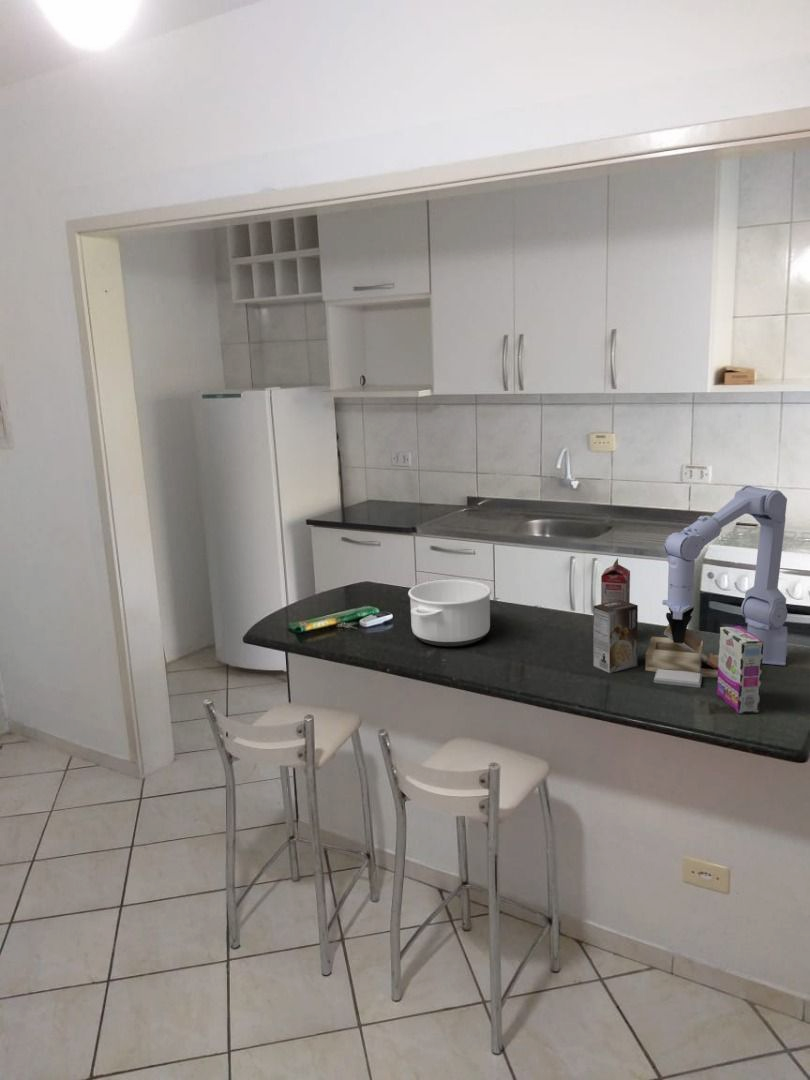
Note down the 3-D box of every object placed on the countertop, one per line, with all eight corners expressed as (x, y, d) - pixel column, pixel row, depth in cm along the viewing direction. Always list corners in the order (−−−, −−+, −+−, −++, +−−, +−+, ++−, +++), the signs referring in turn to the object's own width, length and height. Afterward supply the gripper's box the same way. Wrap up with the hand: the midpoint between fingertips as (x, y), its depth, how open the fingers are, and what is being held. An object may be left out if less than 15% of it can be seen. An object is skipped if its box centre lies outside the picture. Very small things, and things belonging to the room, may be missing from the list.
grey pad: (701, 677, 203) (702, 672, 203) (700, 687, 197) (700, 682, 197) (656, 672, 207) (656, 668, 207) (653, 682, 201) (653, 678, 201)
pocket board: (720, 659, 214) (721, 642, 213) (718, 677, 202) (719, 660, 201) (651, 652, 220) (651, 636, 219) (645, 670, 209) (645, 653, 208)
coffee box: (620, 658, 217) (621, 598, 214) (637, 666, 212) (639, 605, 208) (592, 666, 213) (592, 605, 210) (609, 674, 208) (610, 611, 204)
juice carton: (600, 641, 230) (601, 563, 225) (604, 634, 236) (605, 557, 231) (625, 644, 227) (626, 565, 222) (628, 636, 233) (630, 558, 228)
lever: (715, 663, 211) (719, 658, 211) (714, 671, 206) (718, 667, 205) (665, 628, 214) (668, 624, 214) (662, 636, 209) (666, 631, 208)
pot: (456, 662, 219) (455, 612, 216) (383, 648, 232) (381, 600, 229) (514, 625, 246) (514, 580, 243) (446, 614, 259) (445, 571, 256)
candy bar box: (760, 713, 183) (765, 641, 179) (738, 714, 183) (742, 643, 179) (736, 692, 194) (740, 624, 190) (715, 694, 193) (718, 626, 190)
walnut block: (696, 644, 201) (701, 638, 200) (695, 650, 197) (700, 644, 196) (667, 625, 202) (672, 619, 202) (665, 630, 199) (670, 624, 198)
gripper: (666, 574, 205) (664, 628, 208) (659, 591, 192) (658, 648, 195) (696, 576, 202) (694, 630, 205) (692, 593, 189) (690, 650, 192)
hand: (679, 639), depth 200 cm, fingers closed on walnut block, 4 cm apart
